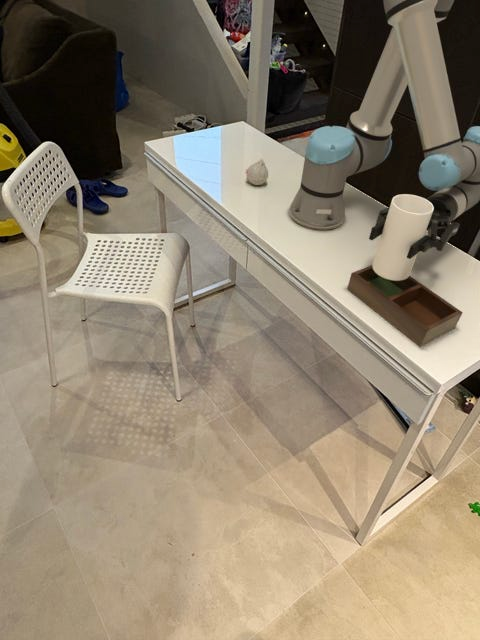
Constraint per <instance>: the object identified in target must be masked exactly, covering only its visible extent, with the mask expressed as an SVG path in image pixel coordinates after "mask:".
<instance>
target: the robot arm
mask: <svg viewBox="0 0 480 640" xmlns="http://www.w3.org/2000/svg"><path fill="white" fill-rule="evenodd" d="M382 2H383V9H384V13H385V17H386V21H387V24H388V25H390V26H392V28H391V30H390V33H389V34H388V38H387V40H386V43H385V45H384V47H383V50H382V53H381V55H380V57H379V60H378V62H377V65H376V67H375V70H374V73H373V75H372V77H371V80H370V82H369V85H368V87H367V90H366V91H365V95H364V97H363V99H362V102H361V104H360V107H359V109H358V110H356V111H354V112H352V113H351V114H350V117H349V118H348V121H347V124H346V126H345V127H344V126H339V125H332V126H331V125H325V126H322V127H319V128H316V129H315V130H314V131H312V133H311V134H310V135H309V137H308V140H307V144H306V147H305V154H304V161H303V166H302V167H303V168H302V174H301V180H300V186H299V189H298V191H297V192H296V194H295V196H294V198H293V200H292V202H291V204H290V206H289V216H290V218H291V220H293V222H295V223H297V224H298V225H300V226H302V227H304V228H308V229H311V230H318V231H327V230H333V229H336V228H339V227H341V225H343V223H344V220H345V215H346V210H345V202H344V192H345V191H344V190H345V187H346V184H347V183H346V182H347V178H348V177H351V176H353V175H356V174H359V173H362V172H364V171H367V170H371V169H374V168H375V167H377V166H378V165H380V164H381V163H383V162H384V161H385V160H386V159H387V157H388V156H389V155H390V152H391V150H392V146H393V140H392V138H391V137H392V132H393V130H394V129H393V126H392V123H391V121H392V119H393V116H394V114H395V113H396V110H397V108H398V106H399V104H400V102H401V100H402V97H403V95H404V93H405V91H406V89H407V86H408V91H409V94H410V95H409V96H410V100H411V103H412V108H413V113H414V116H415V121H416V125H417V129H418V133H419V134H418V135H419V138H420V142H421V146H422V150H423V156H424V160H422V161H421V162H420V165H419V169H418V178H419V181H420V183H421V184H422V186H424V187H425V188H426V189H427V190H430V191H434V193H433V194H431V195H430V196H429V197H426V198H425V199H426V200H428V201H429V202H431V203H432V205H433V207H434V210H433V213H432V216H431V218H430V221H429V224H428V227H427V234H425V235H424V237H423V238H421V239H420V240H418V241H417V242H416V243H414V244H413V245H411V246H410V249H409V252H408V255H407V258H409V259H411V258H412V257H413V256H415V255H416V254H417V253H418V254H419V253H420V252H421V253H426V252H427V251H428V250H430V249H433V248H434V249H435V250H436V251H437V252H443V250H444V248H445V247H446V245H447V244H448V242H449V240H450V238H451V237H453V236H455V235H457V232H458V229H459V227H460V225H461V224H460V222H457V221H455V222H453V221H454V220H455V219H457V218H458V217H459V216H461V215H462V214H463V213H465V212H466V211H468V210H470V209H471V208H473V207H475V206H476V204H478V203H479V202H480V126H479V125H475V126H471V127H470V128H469V129H467V131H466V133H465V135H464V137H463V139H461V135H460V130H459V124H458V119H457V115H456V110H455V106H454V105H455V104H454V101H453V100H454V99H453V96H452V91H451V86H450V82H449V76H448V73H447V66H446V62H445V58H444V52H443V47H442V41H441V37H440V33H439V29H438V23H440V22H441V21H443V20H445V19H446V18H447V17H448V14H449V13H450V11H451V9H452V6H453V4H454V2H455V0H382ZM389 208H390V206H389V207H386V208H384V209H380V210H379V211H378V215H377V217H376V222H375V225H373V226H372V227H371V230H370V233H369V237H368V239H369V240H370V241H374V240H375V239H376V238H378V237H381V235H382V231H383V228H384V225H385V221H386V218H387V215H388V211H389ZM439 229H445V231H444V232H443V233H442V235H441V236H440V237H439V238H437V237H438V230H439ZM418 254H417V255H418Z"/></svg>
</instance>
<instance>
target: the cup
mask: <svg viewBox="0 0 480 640" xmlns="http://www.w3.org/2000/svg"><path fill="white" fill-rule="evenodd" d="M426 199H427V198H425V197H422V196H418V195H415V194H410V193H409V194H407V193H403V194H397V195H395V196H393V197H392V199H391V202H390V205H389V207H390V208H389V207H388V208H389V211H388V215H387V218H386V221H385V225H384V228H383V231H382V234H381V235H380V239H379V242H378V245H377V248H376V251H375V255H374V259H373V262H372V264H371V265H372V267H373V270H374V271H375V273H377V274H378V275H379V276H381V277H383V278H385V279H389V280H394V281H400V280H404V279H407V278H408V277H409V276H411V273H412V270H413V267H414V264H415V261H416V259H417V256H418V254H419V253H417V254H416V255H415V256H413V257H412V258H411V259H409V258H407V255H408V252H409V249H410V246H411V245H413V244H414V243H416V242H417V241H418V240H420V239H421V238H423V237H424V236H425V235H426V232H427V230H428V228H427V227H428V224H429V221H430V218H431V216H432V213H433V210H434V207H433V205H432V203H431V202H429V201H428V200H426Z"/></svg>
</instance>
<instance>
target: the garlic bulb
mask: <svg viewBox="0 0 480 640" xmlns="http://www.w3.org/2000/svg"><path fill="white" fill-rule="evenodd" d="M244 173H245V176H246V178H247V180H248V182H249V183H251V184H252V185H254V186H261V185H263V184H265V183H266V182H267V180H268V178H269V170H268V167H267V166H266V164H265V161H264V159H263V158H260V159H259V160H258V161H256V162H254V163H253V164H251V165H249V167H248V168H246V169H245V171H244Z"/></svg>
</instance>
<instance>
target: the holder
mask: <svg viewBox="0 0 480 640" xmlns="http://www.w3.org/2000/svg"><path fill="white" fill-rule="evenodd" d="M372 265H373V264H371V265H368V266H365V267H363V268H361V269H358V270H356V271H353V272H351V273H350V277H349V281H348V285H347V291H349V292H350V293H351V294H352V295H353V296H355V297H357V298H358V300H360V301H361V302H363V303H364V304H365V305H367V306H368V307H369V308H370V309H371V310H373V311H374V312H375V313H377V314H378V315H379V316H380V317H382V318H383V319H384V320H385V321H387V322H388V323H389V324H390V325H392V326H393V327H394V328H396V329H397V330H398V331H399V332H401V333H402V334H403V335H404V336H406V337H407V338H408V339H409V340H411V341H412V342H413V343H415V344H416V345H417V346H418V347H420V348H421V347H423V346H425V345H427V344H429V343H431V342H432V341H434V340H436V339H438V338H440V337H442V336H444V335H445V334H447V333H449V332H451V331H453V330H455V328H456V327H457V325H458V323H459V322H460V319H461V317H462V315H463V314H464V313H463V311H462V310H460V309H458V308H457V307H456V306H454V305H453V304H451V303H450V302H449V301H447V300H446V299H445V298H443V297H441V296H440V295H438V294H437V293H436V292H434V291H432V290H431V289H430V288H429V287H427V286H425V285H423V284H422V283H421V282H420V281H418V280H417V279H415V278H414V277H412V276H411V275H410V276H409V277H408V278H407V279H404V280H400V281H394V280H389V279H385V278H383V277H381V276H379V275H378V274H377V273H375V271H374V270H373V267H372Z"/></svg>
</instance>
